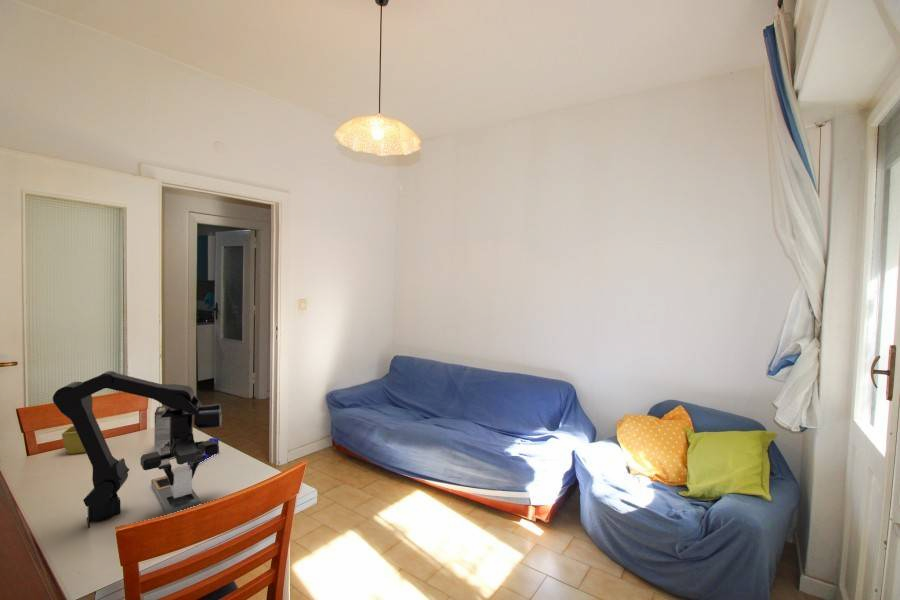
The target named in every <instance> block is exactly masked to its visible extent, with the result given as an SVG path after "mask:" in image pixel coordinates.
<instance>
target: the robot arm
mask: <svg viewBox="0 0 900 600" xmlns="http://www.w3.org/2000/svg"><path fill="white" fill-rule="evenodd" d="M104 389H107V390H108V389H109V390H113V391H114V390H115V391H117V392H122V393H127V394H131V395H134V396H139V397H144V398H146V399H147V398H148V399H152V400H154V401H157V402H158V403H160V404H161V405H162V406H167V407H169V408H168V409H167V410H166V411H165V412H164V413H163V414H162V415H161V417H162V418H164V417H170V433H169V436H170V447H169V450H170V453H162V454H159V453H158V452H154V451H153V452H152V451H151V452H149V453H144V454H141V457H140V462H139V463H140V466H141V467H142V470H144V471H149V470H154V469H158V470H163V471H164V473H165V476H167V478H168V481H169V483H170V485H171V486H172V485H173V479H172V471H171V469H172V464H171V462H170V461H171V460H175V461H176V464H177V465H181V466H182V465H184V464H186V463H187V464H188V462H190V466H189V467H190V468H191V469H192V480H193V478H194V475H195V473H196V471H197V468H198V466H199V465H200V464H199V462H200V461H201V460H202V459H205V458H206V456H205V454H206V455H213V454H216V455H218V454H219V452H220V445H218V444H217V443H216V442H215V441H214V440H209V439H208V440H201V441H195V440H194V439H195V438H194V432H193V431H194V427H193V426H195V428H198V430H200V429H210V428H221V427H222V421H223V420H222V419H223V412H222V408H221V403H214V404H213V403H212V404H204V405H202V404H203V403H202V402H201V401H200V400H199V399H198V398H197V397H196V395H195V391H194V389H193V388H192V387H191V386H190V385H186V384H174V383H173V384H172V383H171V384H166V383H164V384H163V383H157V382H155V381H154V382H153V381H149V380H146V379H142V378H137V377H134V376H130V375H125V374H121V373H118V372H115V371H113V370H108V371H105V372H103V373H102V374H100V375H98V376H95V377H92V378H90V379H88V380H84V381H83V382H82V381H72V382H70V383H69V384H67V385H65V386H62V387H60V388H58V389H57V390H56V391H55V393H54V394H53V396H52V402H53V403H54V405H55V407H57V409H58V410H59V412H60V413H61V414H62V415H64V416H65V417H67V418H68V419H69V420H70V421H71V423H72V426H74V427H75V430H76V432H77V434H78V436H79V438H80V440H81V443H82V445H83V447H84V449H85V451H86V452H85V453H86V456H87V457H88V460H89V462H90V464H91V467H92V477H91V479H92V485H93V488H92V489H91V490H90V492H89V493H87V494H86V496H85V497H84V498H83V500H82V501H83V503H84V505H85V507H87V517H86V523H87V528H88V529H91V526H90V525H91V524H90V523H101V522H104V521H108V520H110V519H112V518H114V517H116V516H118V515H120V514H121V499H120V498H121V497H119V495H118V491H120V489H121V488H122V487H123V485H124V484H125V483H126V481H127V479H128V477H129V473H128V472H130V468H129V467H128V466H127V464H126V461H125V458H123V457H122V458H120V459H119V460H118V459H117V458H116V457H114V456H113V454H112V452H111V450H110V448H109V445H108V443H107V441H106V439H105V437H104V435H103V432H102V430H101V428H100V424H99V423H98V422H97V419H96V417H95V414H94V412H93V394H96V393H99V392H100V391H102V390H104ZM193 419H194V420H193ZM98 424H99V425H98ZM217 453H218V454H217Z"/></svg>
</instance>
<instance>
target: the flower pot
mask: <svg viewBox="0 0 900 600" xmlns="http://www.w3.org/2000/svg"><path fill="white" fill-rule="evenodd" d="M98 425H99V426H100V424H99V423H98ZM61 436H62V437H61V438H62V443H63V447H64V449H65V450H66V452H67V453H69V454H70V455H75V454H81V453H82V454H83V453H86V451H85V449H84V447H83V445H82V443H81V440H80V438H79V436H78V434H77V432H76V430H75V427H74V425H71V426H70V427H68V428H66V429H65V430H64V431H63V432H61Z"/></svg>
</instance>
